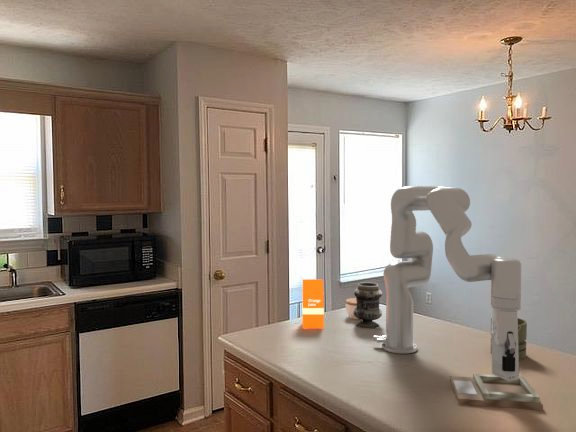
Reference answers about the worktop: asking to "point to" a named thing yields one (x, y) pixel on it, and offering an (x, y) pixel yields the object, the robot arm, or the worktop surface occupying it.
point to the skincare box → (497, 361)
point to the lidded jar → (351, 307)
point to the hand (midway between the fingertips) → (504, 365)
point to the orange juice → (313, 303)
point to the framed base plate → (495, 392)
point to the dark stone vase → (367, 305)
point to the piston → (520, 338)
